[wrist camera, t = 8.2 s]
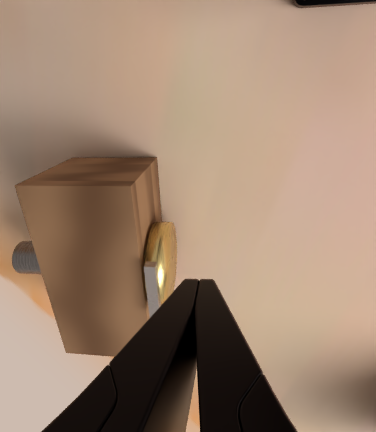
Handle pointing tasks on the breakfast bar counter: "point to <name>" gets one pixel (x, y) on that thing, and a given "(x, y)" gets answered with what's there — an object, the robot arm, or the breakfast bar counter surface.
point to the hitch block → (94, 246)
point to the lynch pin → (154, 265)
